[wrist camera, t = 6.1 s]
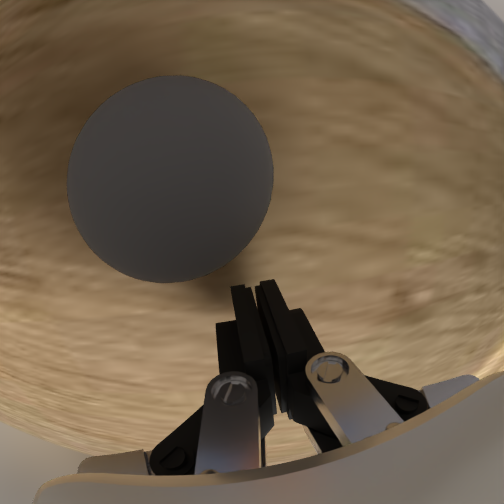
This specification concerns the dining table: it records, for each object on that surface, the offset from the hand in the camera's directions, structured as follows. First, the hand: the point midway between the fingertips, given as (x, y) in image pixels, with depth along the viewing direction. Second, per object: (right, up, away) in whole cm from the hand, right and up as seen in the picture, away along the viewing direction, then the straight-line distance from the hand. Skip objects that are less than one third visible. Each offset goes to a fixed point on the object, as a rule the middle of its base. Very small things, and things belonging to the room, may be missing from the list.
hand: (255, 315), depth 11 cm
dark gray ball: (-2, +4, -4) cm, 6 cm away
